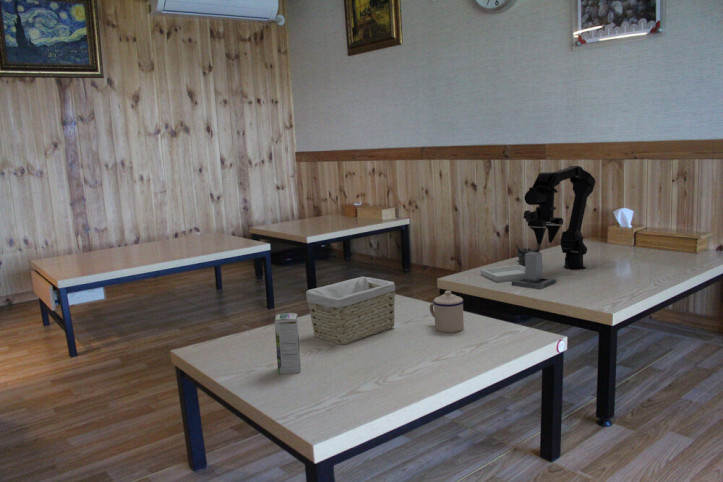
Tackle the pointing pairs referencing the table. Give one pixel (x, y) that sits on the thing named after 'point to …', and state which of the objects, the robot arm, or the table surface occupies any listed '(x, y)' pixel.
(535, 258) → the grey rectangular block
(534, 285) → the dark grey square frame
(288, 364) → the syrup box
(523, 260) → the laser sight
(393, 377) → the table surface
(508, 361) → the table surface
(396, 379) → the table surface
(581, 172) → the robot arm
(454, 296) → the teacup with lid
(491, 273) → the parts tray
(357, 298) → the storage basket
